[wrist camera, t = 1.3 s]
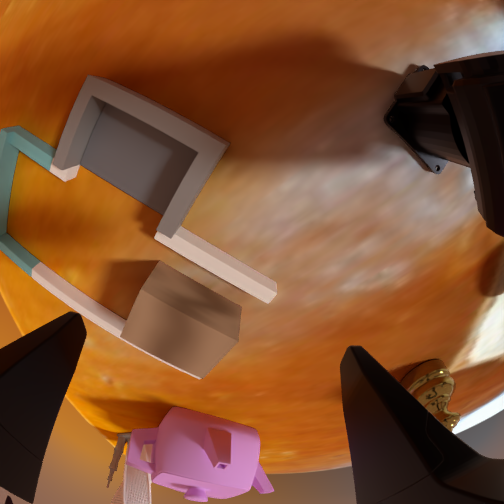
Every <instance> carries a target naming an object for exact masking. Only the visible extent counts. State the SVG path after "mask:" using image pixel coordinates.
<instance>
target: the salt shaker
mask: <svg viewBox="0 0 504 504" xmlns="http://www.w3.org/2000/svg"><path fill="white" fill-rule="evenodd" d="M449 376H450V372H449V370H448V369H447V368H446V366H445V364H444V362H443V361H441V360H431V361H427V362H425V363H423V364H421V365H419V366H417V367H416V368H414V369H413V370H412V371H410V372H409V373H408V374H407V375H406V376H405V377H404V378H403V380H402V381H401V383H400V384H401V385H402V386H403V387H404V388H405V389H406V390H407V391H409V392H410V393H411V394H412V395H413V396H414V397H415V398H416V399H417V400H418V401H419V402H420V403H421V404H422V405H423V406H424V407H425V408H426V409H427V410H428V412H430V413H431V414H432V415H433V416H434V417H435V418H436V419H438V420H439V421H440V422H441V423H442V424H443V425H444V426H445V427H446V428H447V429H449V430H450V431H451V432H452V430H453V428H454V427H455V426H456V425H457V423H458V422H459V421H460V419H461V415H460V414H459V413H452V412H449V411H448V405H449V402H450V400H451V397H452V395H453V393H454V391H455V388H456V383H455V381H454V380H453V379H452V378H451V377H449Z"/></svg>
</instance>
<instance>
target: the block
mask: <svg viewBox="0 0 504 504" xmlns="http://www.w3.org/2000/svg"><path fill="white" fill-rule="evenodd" d="M241 309H242V307H241V306H240V305H238V304H236V303H234V302H232V301H230V300H228V299H227V298H225V297H223V296H221V295H219V294H217V293H216V292H214V291H212V290H210V289H208V288H207V287H205V286H203V285H201V284H200V283H198V282H196V281H194V280H193V279H191V278H189V277H187V276H186V275H184V274H182V273H180V272H179V271H177V270H175V269H174V268H172V267H170V266H168V265H167V264H165V263H163V262H162V261H160V260H159V262H158V263H157V265H156V266H155V268H154V269H153V271H152V272H151V274H150V276H149V277H148V279H147V280H146V282H145V283H144V285H143V286H142V288H141V290H140V292H139V294H138V296H137V298H136V301H135V303H134V305H133V307H132V309H131V312H130V314H129V316H128V319H127V321H126V323H125V326H124V328H123V330H122V333H121V335H120V337H121V338H123V339H125V340H127V341H128V342H130V343H132V344H134V345H135V346H137V347H139V348H141V349H143V350H144V351H146V352H148V353H150V354H152V355H154V356H156V357H158V358H160V359H162V360H164V361H166V362H168V363H170V364H172V365H174V366H176V367H178V368H180V369H182V370H184V371H186V372H189V373H191V374H193V375H195V376H197V377H200V378H202V379H203V378H204V377H205V376H206V375H207V374H208V373H209V372H210V371H211V370H212V369H213V368H214V367H215V366H216V365H217V364H218V363H219V361H220V360H221V359H222V358H223V357H224V356H225V355H226V354H227V353H228V352H229V351H230V350H231V349H232V348H233V347H234V345H235V344H236V343H237V342H238V340H239V330H240V319H241Z"/></svg>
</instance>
